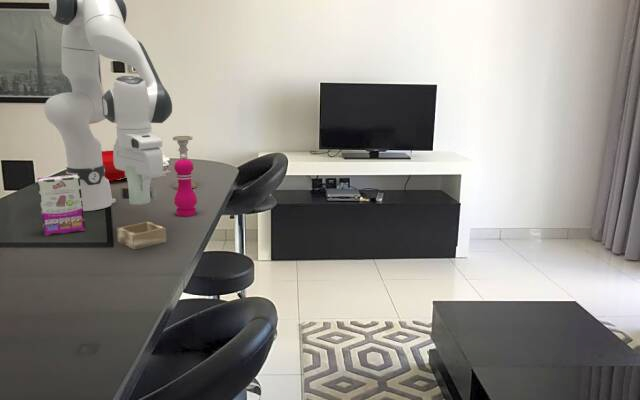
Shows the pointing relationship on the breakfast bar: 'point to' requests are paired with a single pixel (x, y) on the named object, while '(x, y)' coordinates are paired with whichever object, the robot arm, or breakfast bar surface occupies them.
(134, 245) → the square wooden tray
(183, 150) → the candle holder
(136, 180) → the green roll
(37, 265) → the breakfast bar surface
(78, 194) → the candy bar box
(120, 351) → the breakfast bar surface
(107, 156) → the bowl
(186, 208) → the pepper mill
